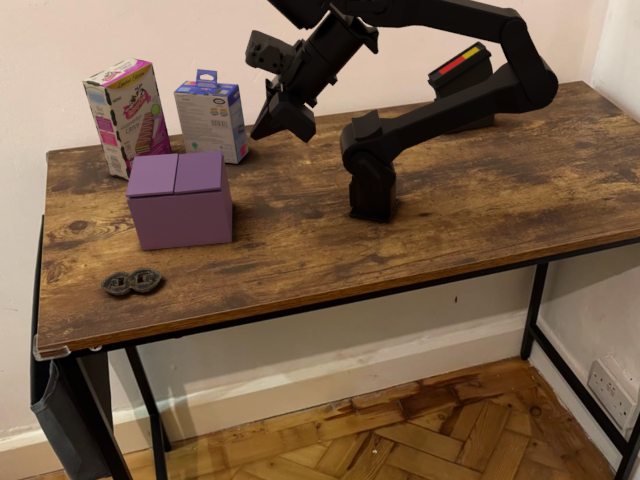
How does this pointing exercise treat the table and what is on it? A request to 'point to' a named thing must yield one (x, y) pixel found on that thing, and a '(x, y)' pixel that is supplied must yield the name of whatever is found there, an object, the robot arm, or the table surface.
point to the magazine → (463, 77)
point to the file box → (176, 206)
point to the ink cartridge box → (212, 117)
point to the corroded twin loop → (132, 281)
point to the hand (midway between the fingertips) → (252, 137)
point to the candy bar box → (127, 114)
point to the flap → (199, 172)
